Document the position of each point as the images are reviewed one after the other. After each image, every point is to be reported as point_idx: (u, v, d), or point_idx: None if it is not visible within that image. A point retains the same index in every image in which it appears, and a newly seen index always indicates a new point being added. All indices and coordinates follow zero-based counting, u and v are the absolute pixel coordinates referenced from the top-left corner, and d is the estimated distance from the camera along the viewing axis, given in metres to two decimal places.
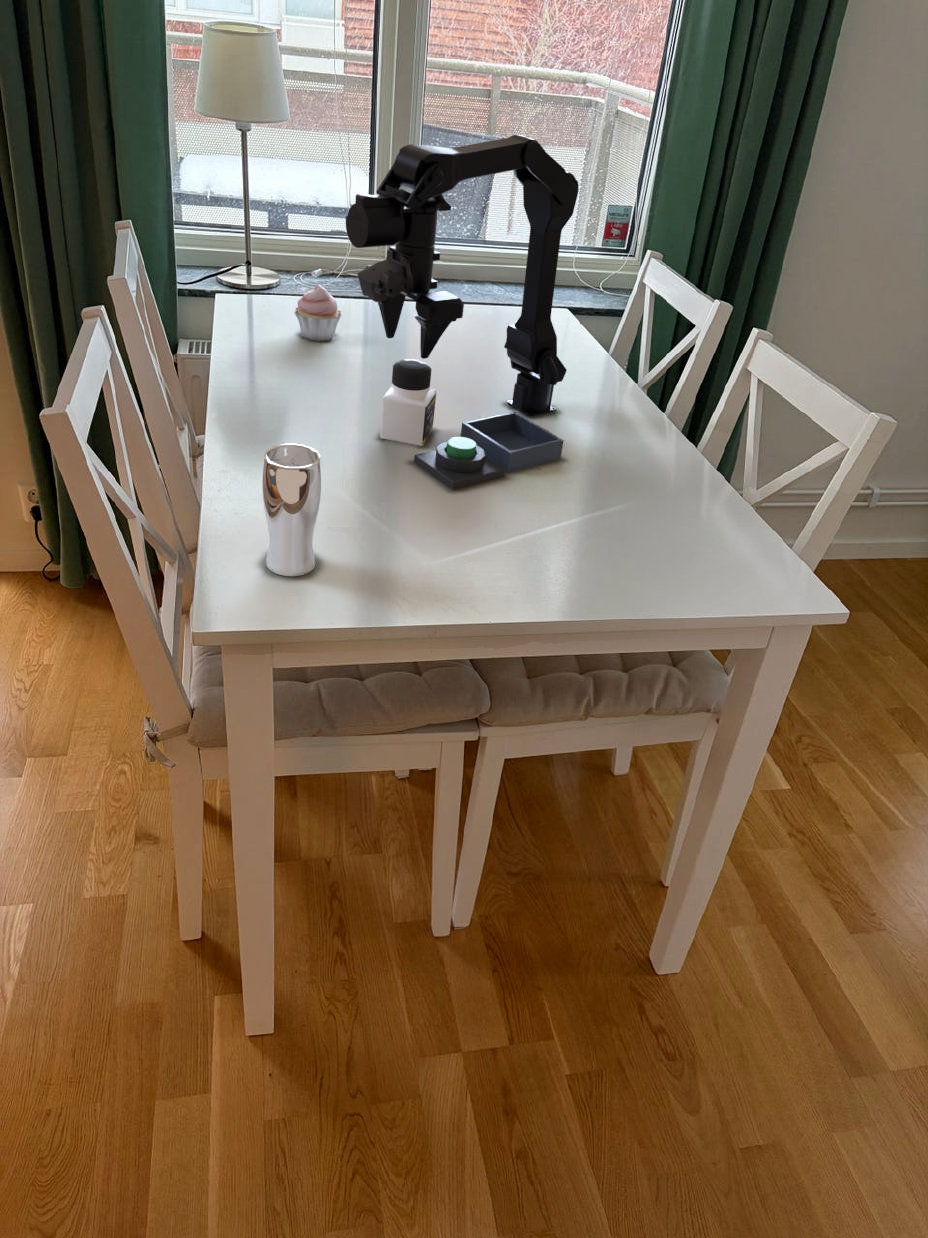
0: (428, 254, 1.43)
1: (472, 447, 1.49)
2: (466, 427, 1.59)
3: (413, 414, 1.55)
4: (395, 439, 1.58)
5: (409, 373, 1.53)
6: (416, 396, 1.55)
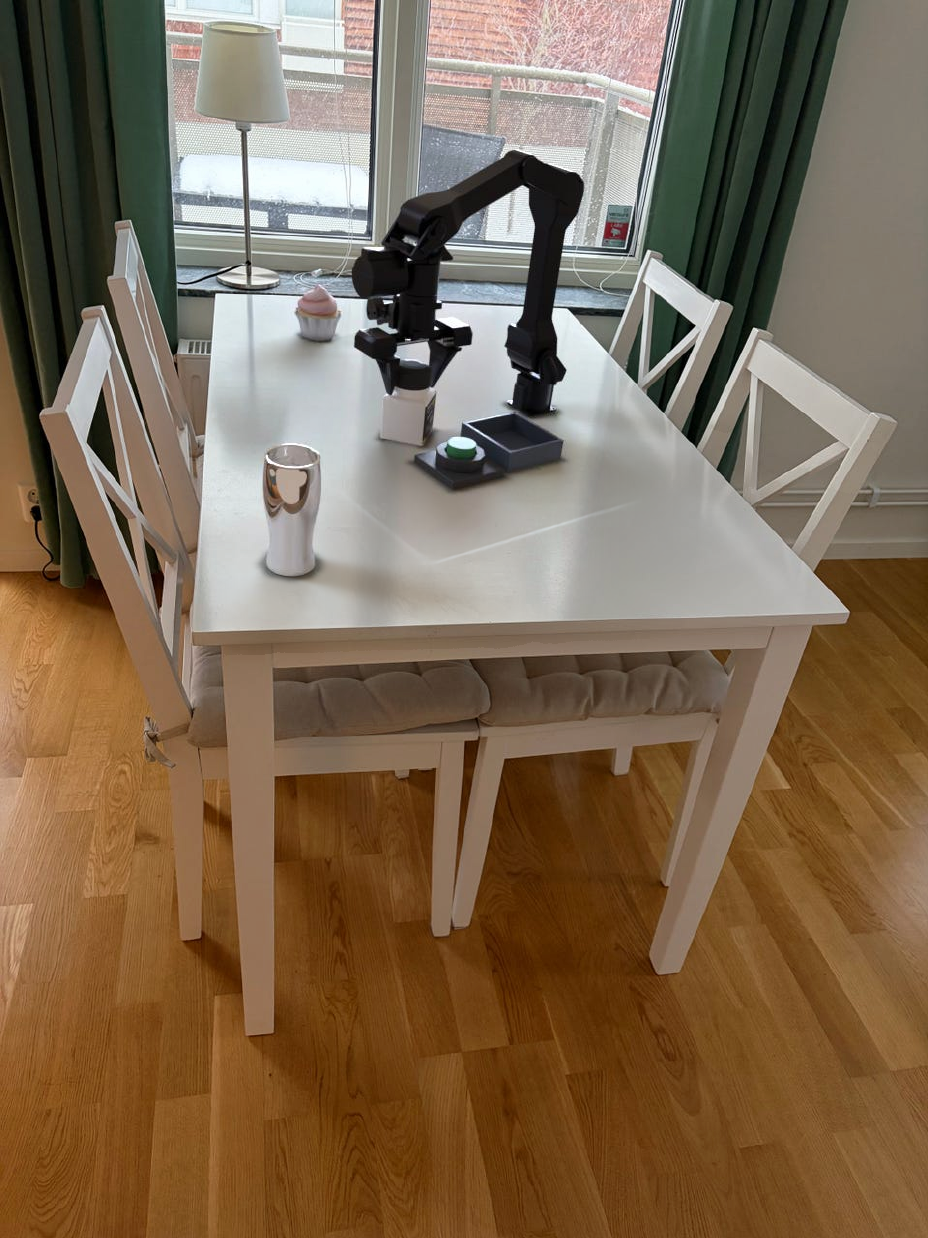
0: (404, 300, 1.47)
1: (472, 447, 1.49)
2: (466, 427, 1.59)
3: (413, 414, 1.55)
4: (395, 439, 1.58)
5: (409, 373, 1.53)
6: (416, 396, 1.55)
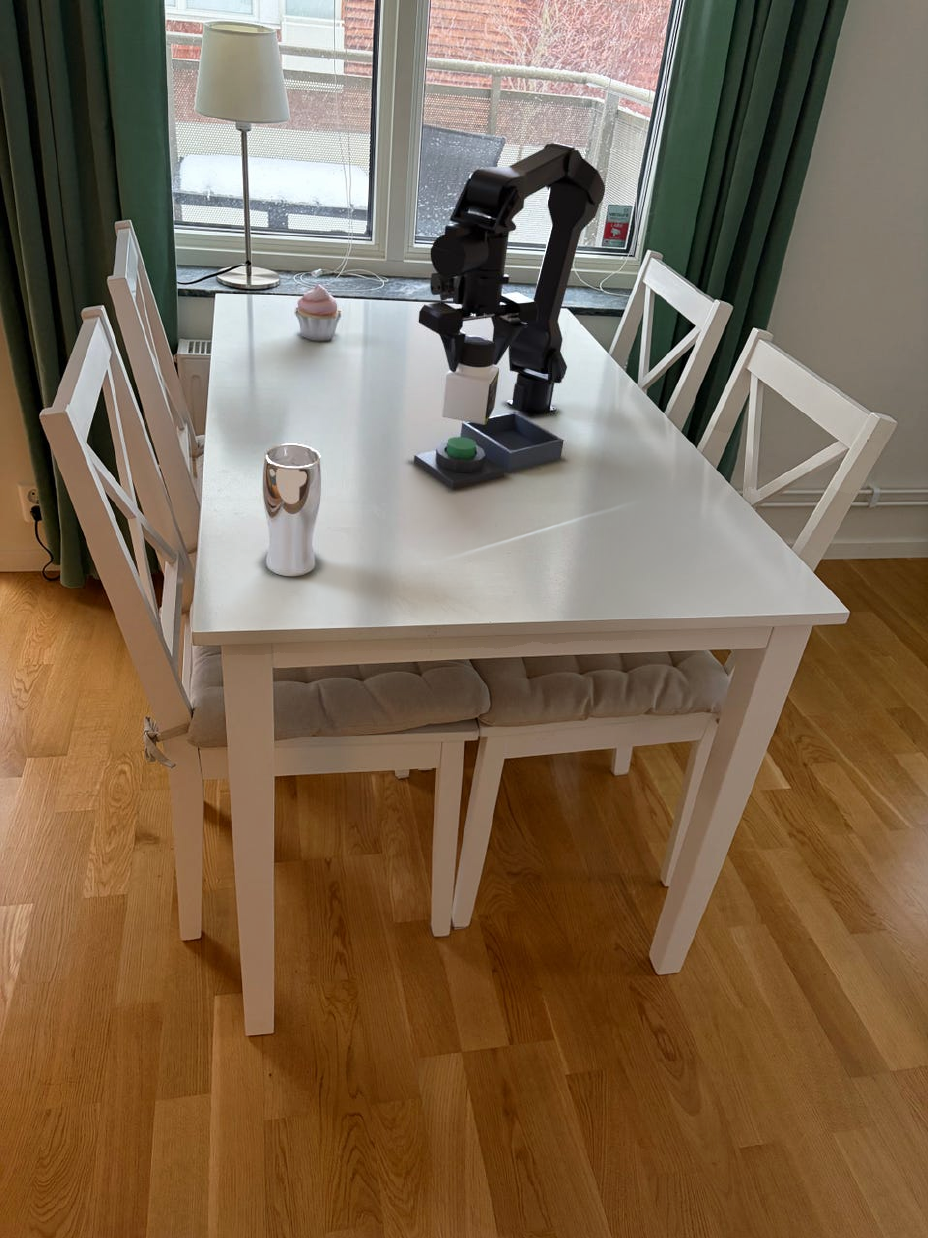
0: (471, 273, 1.44)
1: (472, 447, 1.49)
2: (466, 427, 1.59)
3: (476, 391, 1.52)
4: (457, 417, 1.55)
5: (473, 349, 1.49)
6: (480, 374, 1.52)
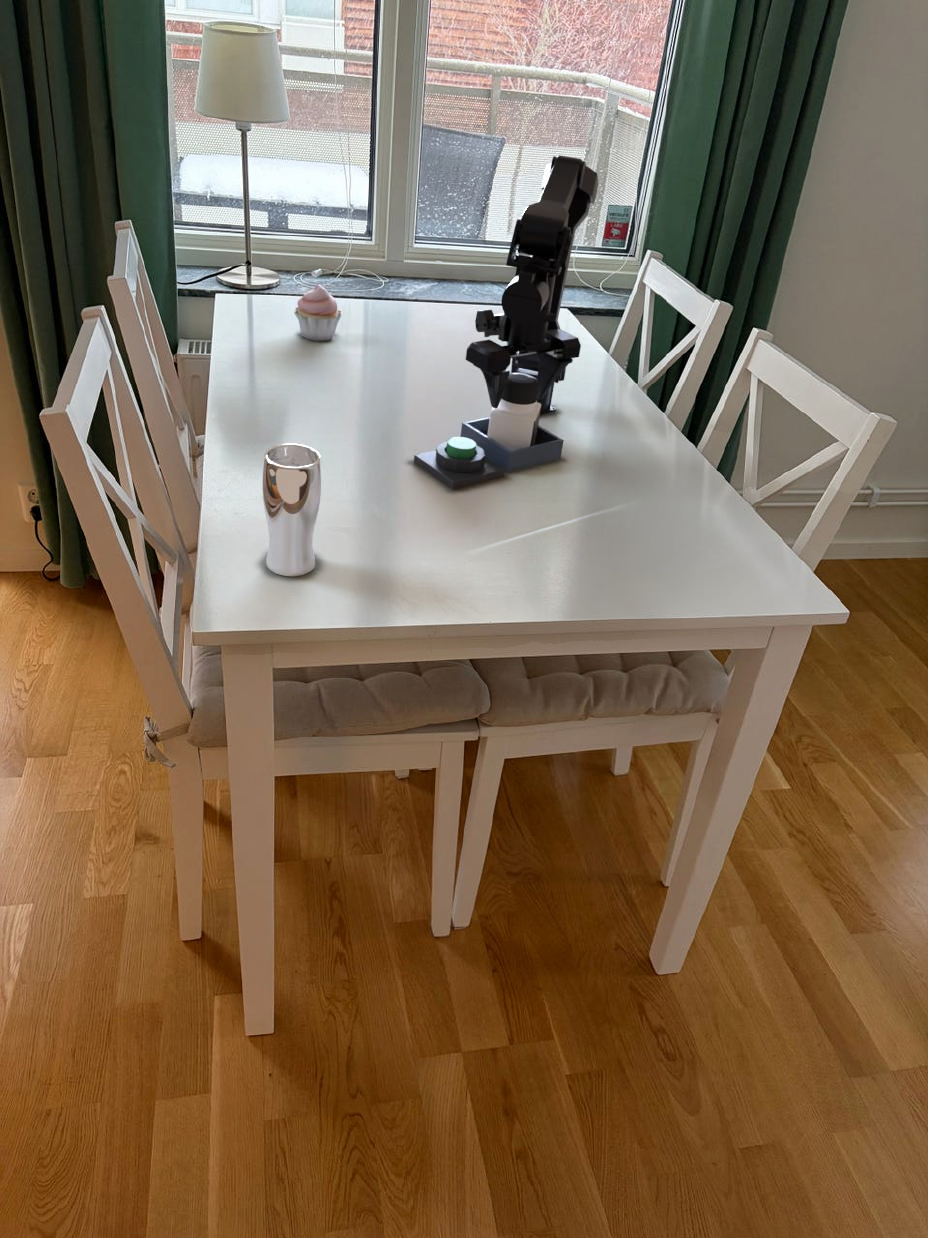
0: None
1: (472, 447, 1.49)
2: (466, 427, 1.59)
3: (521, 428, 1.54)
4: None
5: (519, 387, 1.52)
6: (524, 410, 1.54)
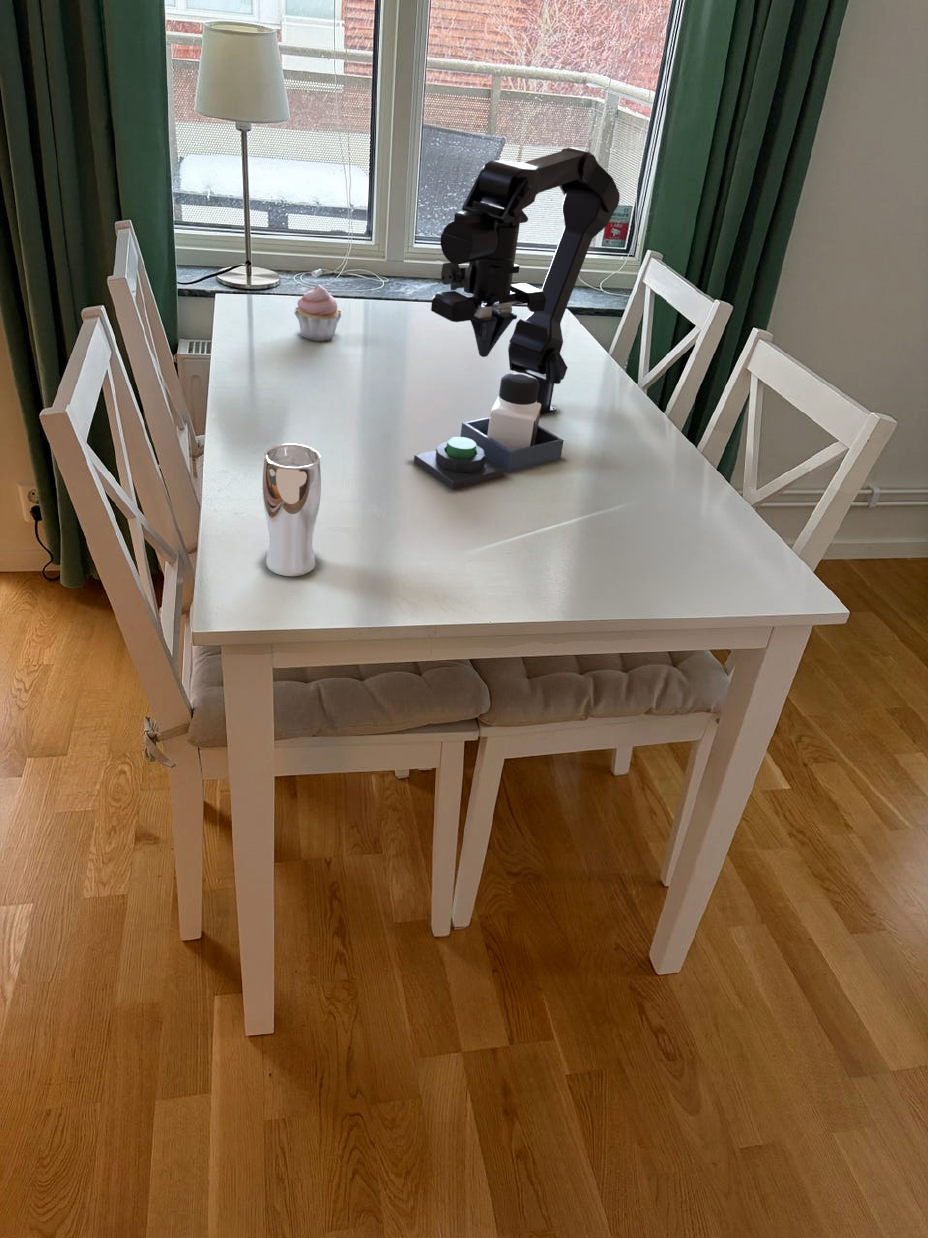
0: (483, 263, 1.47)
1: (472, 447, 1.49)
2: (466, 427, 1.59)
3: (521, 428, 1.54)
4: None
5: (519, 387, 1.52)
6: (524, 410, 1.54)
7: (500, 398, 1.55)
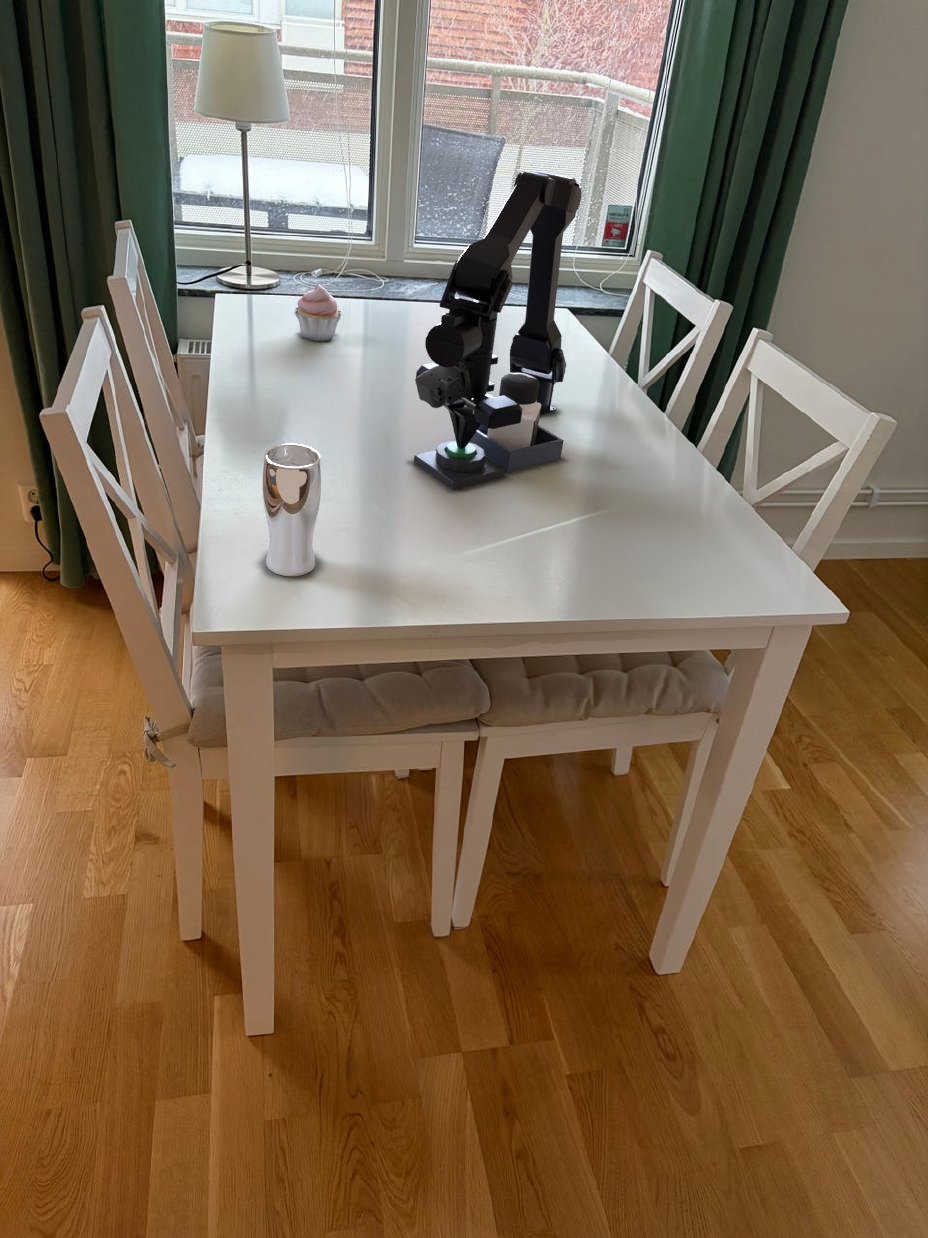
0: (487, 359, 1.41)
1: (471, 452, 1.50)
2: None
3: (521, 428, 1.54)
4: None
5: (519, 387, 1.52)
6: (524, 410, 1.54)
7: None
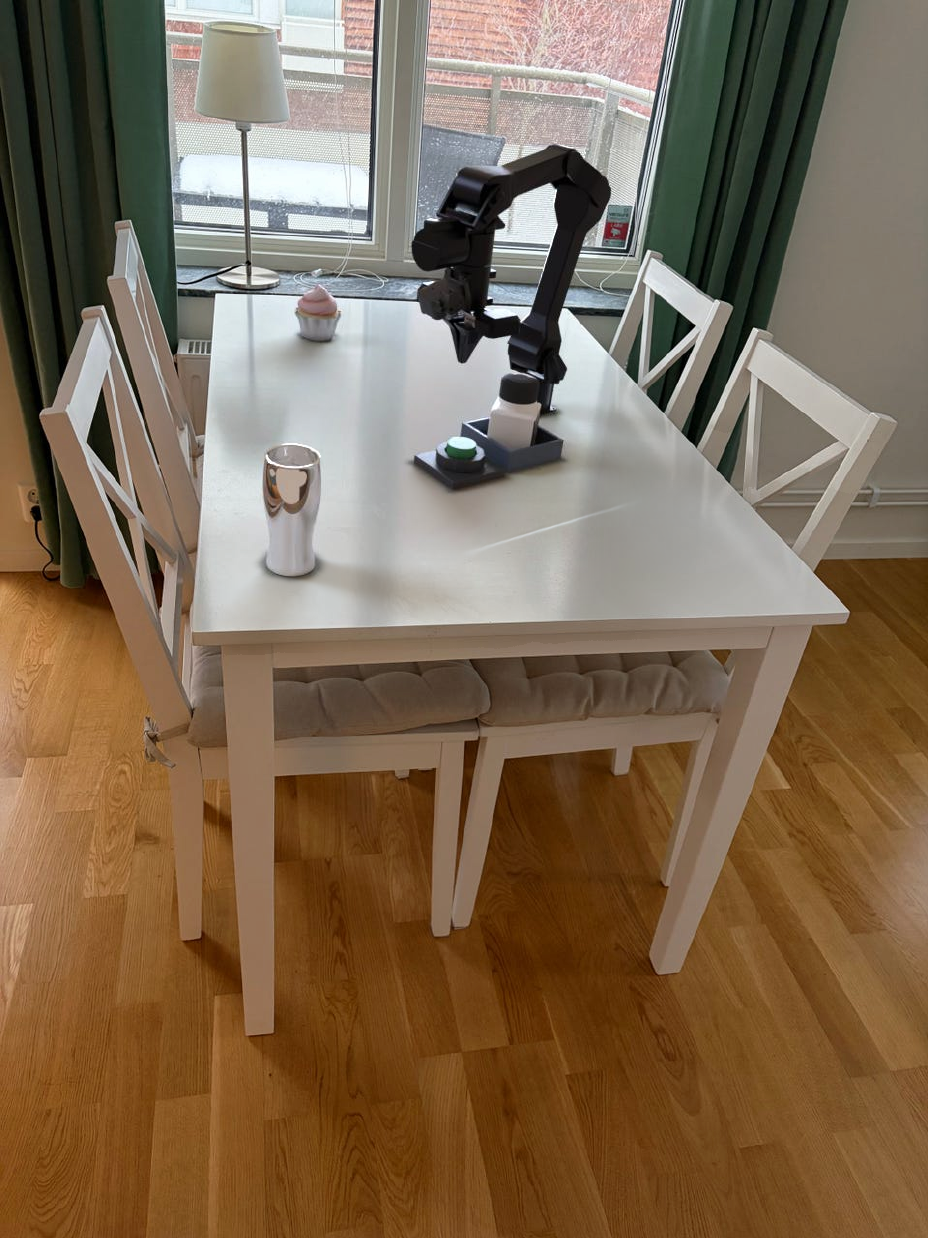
0: (486, 272, 1.47)
1: (472, 447, 1.49)
2: (466, 427, 1.59)
3: (521, 428, 1.54)
4: None
5: (519, 387, 1.52)
6: (524, 410, 1.54)
7: (500, 398, 1.55)
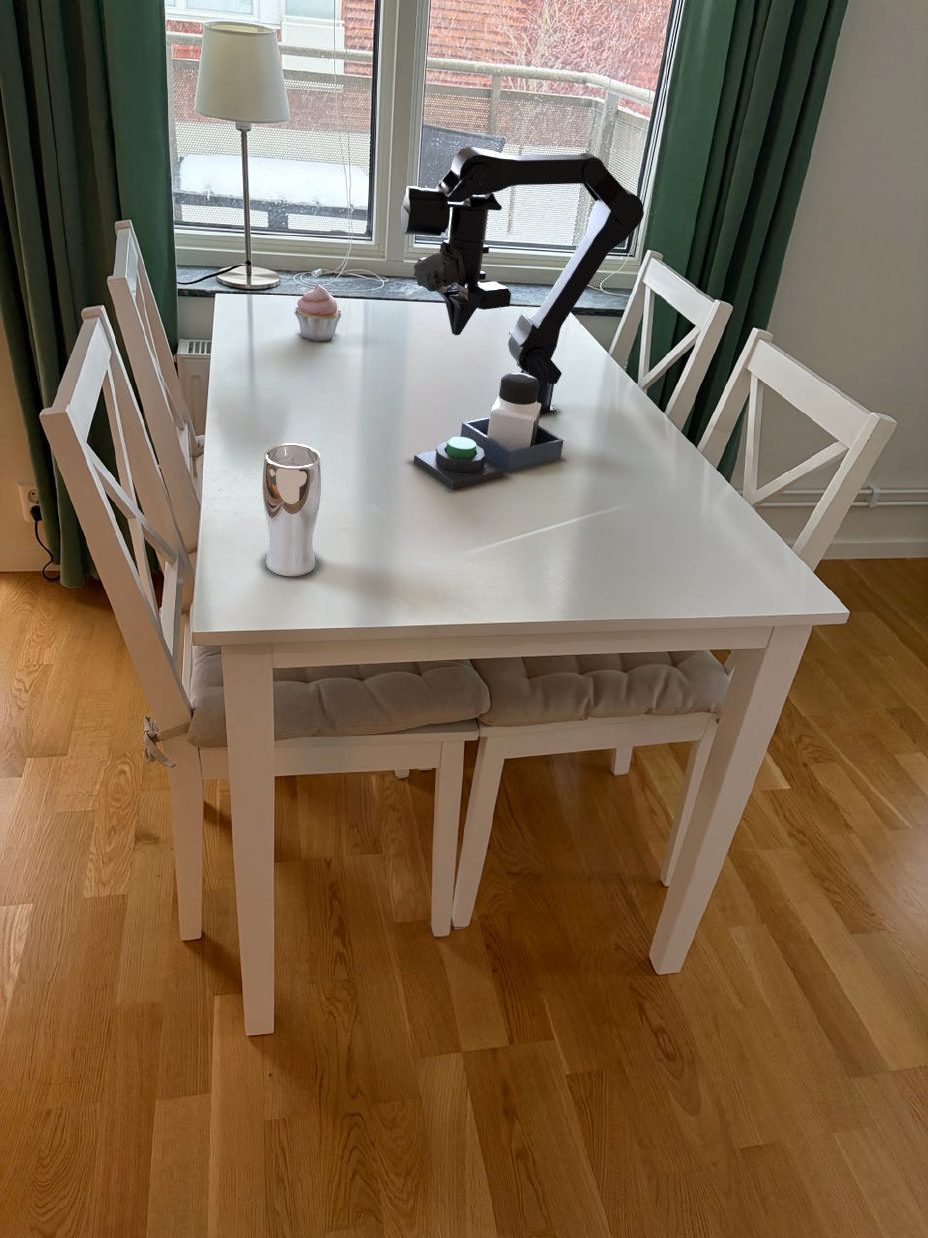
0: (479, 247, 1.55)
1: (472, 447, 1.49)
2: (466, 427, 1.59)
3: (521, 428, 1.54)
4: None
5: (519, 387, 1.52)
6: (524, 410, 1.54)
7: (500, 398, 1.55)
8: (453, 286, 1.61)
